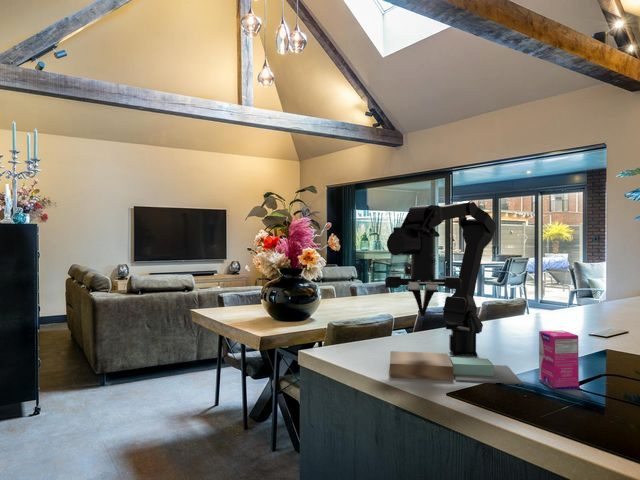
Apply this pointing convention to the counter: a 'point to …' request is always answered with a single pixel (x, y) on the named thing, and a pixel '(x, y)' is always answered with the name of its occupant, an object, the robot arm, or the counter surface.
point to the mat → (500, 376)
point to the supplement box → (559, 359)
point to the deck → (420, 365)
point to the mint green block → (472, 366)
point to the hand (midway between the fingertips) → (422, 316)
